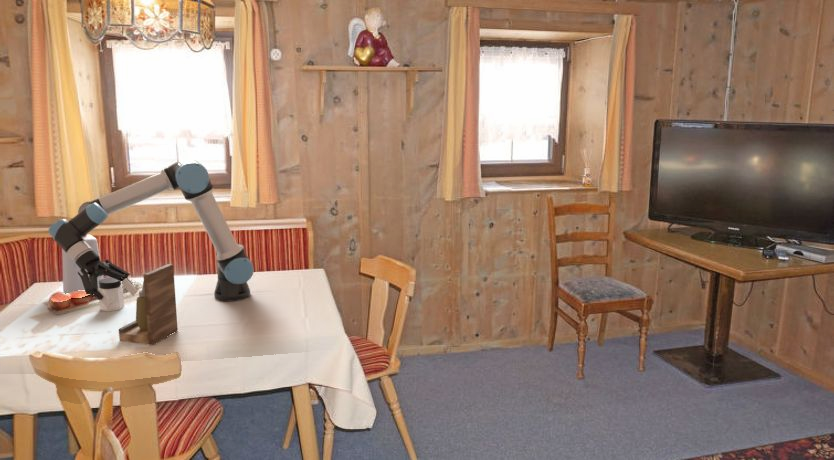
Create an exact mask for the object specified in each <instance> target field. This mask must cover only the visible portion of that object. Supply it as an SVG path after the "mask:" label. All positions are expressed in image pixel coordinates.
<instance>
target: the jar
mask: <svg viewBox="0 0 834 460" xmlns="http://www.w3.org/2000/svg"><path fill="white" fill-rule="evenodd" d="M121 283H122V281H120V280H117V279H115V278H112V277H105V278H104V279H101V280H100V281H99V288H98V290H99V289H101V290H102V291H103V292H104V293H105V294H106V296H107V297H108V298H109V299H110V300H111V301H112V304H111V305H110V306H109V307H106V306H105V305H104V304H103V303H102V302H101V300H99V299H98V300H99V308H100V309H99V310H101V311H104V312H113V311H120V310H121V309H123V308H124V306H125V301H124V300H125V299H124V288H123V287H124V286H123V285H122V284H121Z"/></svg>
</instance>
